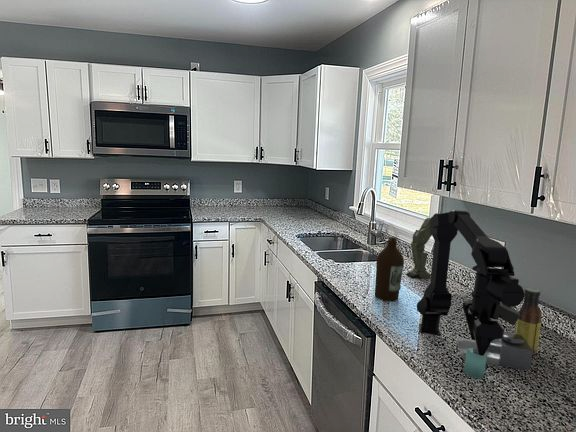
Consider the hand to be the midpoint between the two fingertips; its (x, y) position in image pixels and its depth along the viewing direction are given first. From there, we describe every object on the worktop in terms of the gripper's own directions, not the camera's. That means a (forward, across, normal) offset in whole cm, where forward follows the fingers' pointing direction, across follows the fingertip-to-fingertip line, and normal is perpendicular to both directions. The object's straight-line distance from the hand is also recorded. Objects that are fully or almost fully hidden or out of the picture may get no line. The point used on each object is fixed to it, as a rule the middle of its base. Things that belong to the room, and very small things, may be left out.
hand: (477, 347), depth 107 cm
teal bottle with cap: (+8, 0, 0) cm, 8 cm away
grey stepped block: (+8, +12, -7) cm, 16 cm away
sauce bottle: (+8, +19, -18) cm, 28 cm away
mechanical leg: (+8, +88, +7) cm, 88 cm away
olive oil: (+8, +51, +23) cm, 56 cm away
